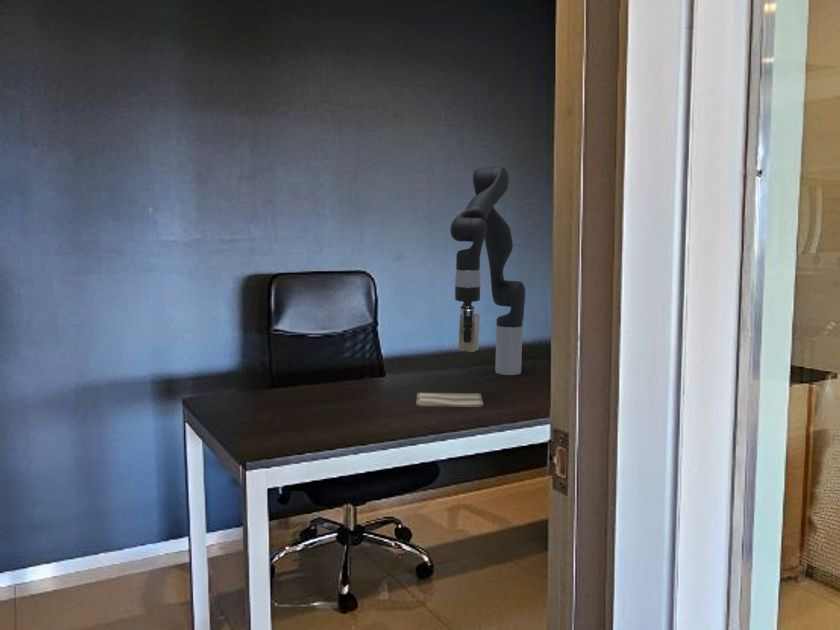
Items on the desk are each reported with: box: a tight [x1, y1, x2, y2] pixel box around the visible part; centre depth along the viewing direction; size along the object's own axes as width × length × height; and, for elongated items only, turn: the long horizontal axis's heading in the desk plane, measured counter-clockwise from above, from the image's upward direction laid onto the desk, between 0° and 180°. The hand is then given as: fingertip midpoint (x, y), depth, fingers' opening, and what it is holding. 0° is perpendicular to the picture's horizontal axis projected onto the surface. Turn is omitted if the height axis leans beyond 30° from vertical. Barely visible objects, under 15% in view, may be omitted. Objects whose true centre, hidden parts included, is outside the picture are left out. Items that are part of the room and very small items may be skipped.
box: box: [457, 313, 481, 353], centre depth 223 cm, size 5×4×11 cm
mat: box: [415, 392, 484, 408], centre depth 226 cm, size 14×20×1 cm
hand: (466, 340), depth 223 cm, fingers closed on box, 5 cm apart
